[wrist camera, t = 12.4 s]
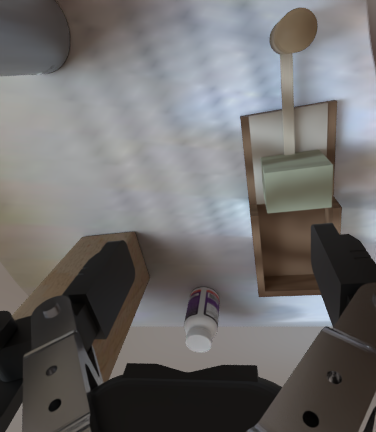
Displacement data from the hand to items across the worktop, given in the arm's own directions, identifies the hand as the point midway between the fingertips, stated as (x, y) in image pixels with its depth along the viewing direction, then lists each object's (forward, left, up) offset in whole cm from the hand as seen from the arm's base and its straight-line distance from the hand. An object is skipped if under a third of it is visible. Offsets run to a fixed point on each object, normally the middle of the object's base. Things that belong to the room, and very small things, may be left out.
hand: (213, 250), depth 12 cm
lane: (+12, +7, -28) cm, 31 cm away
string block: (0, +7, -27) cm, 28 cm away
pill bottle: (+29, -8, -28) cm, 41 cm away
